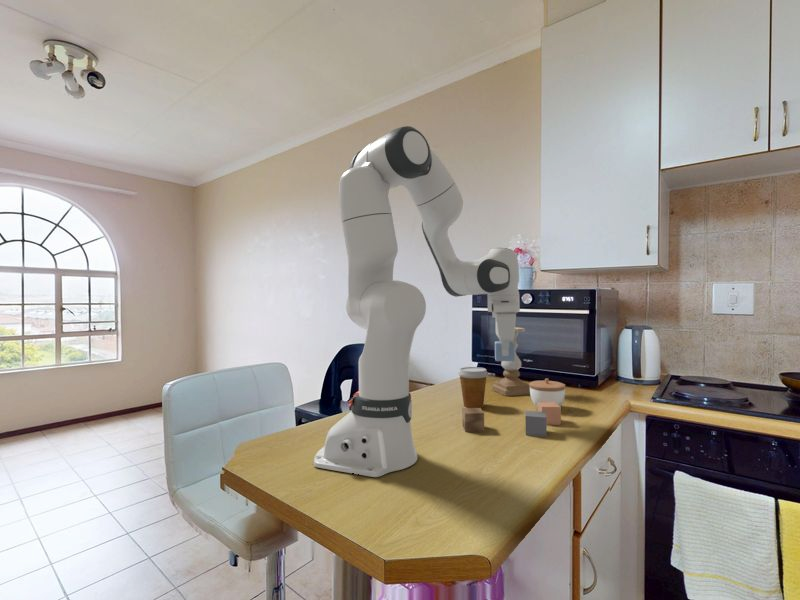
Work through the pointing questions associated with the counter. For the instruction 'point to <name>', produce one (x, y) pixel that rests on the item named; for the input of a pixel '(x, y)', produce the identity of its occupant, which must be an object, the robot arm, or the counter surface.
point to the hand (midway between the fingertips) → (504, 354)
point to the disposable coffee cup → (473, 386)
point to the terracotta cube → (550, 412)
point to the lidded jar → (547, 391)
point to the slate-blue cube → (499, 352)
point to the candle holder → (512, 375)
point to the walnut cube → (473, 419)
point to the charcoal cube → (536, 423)
